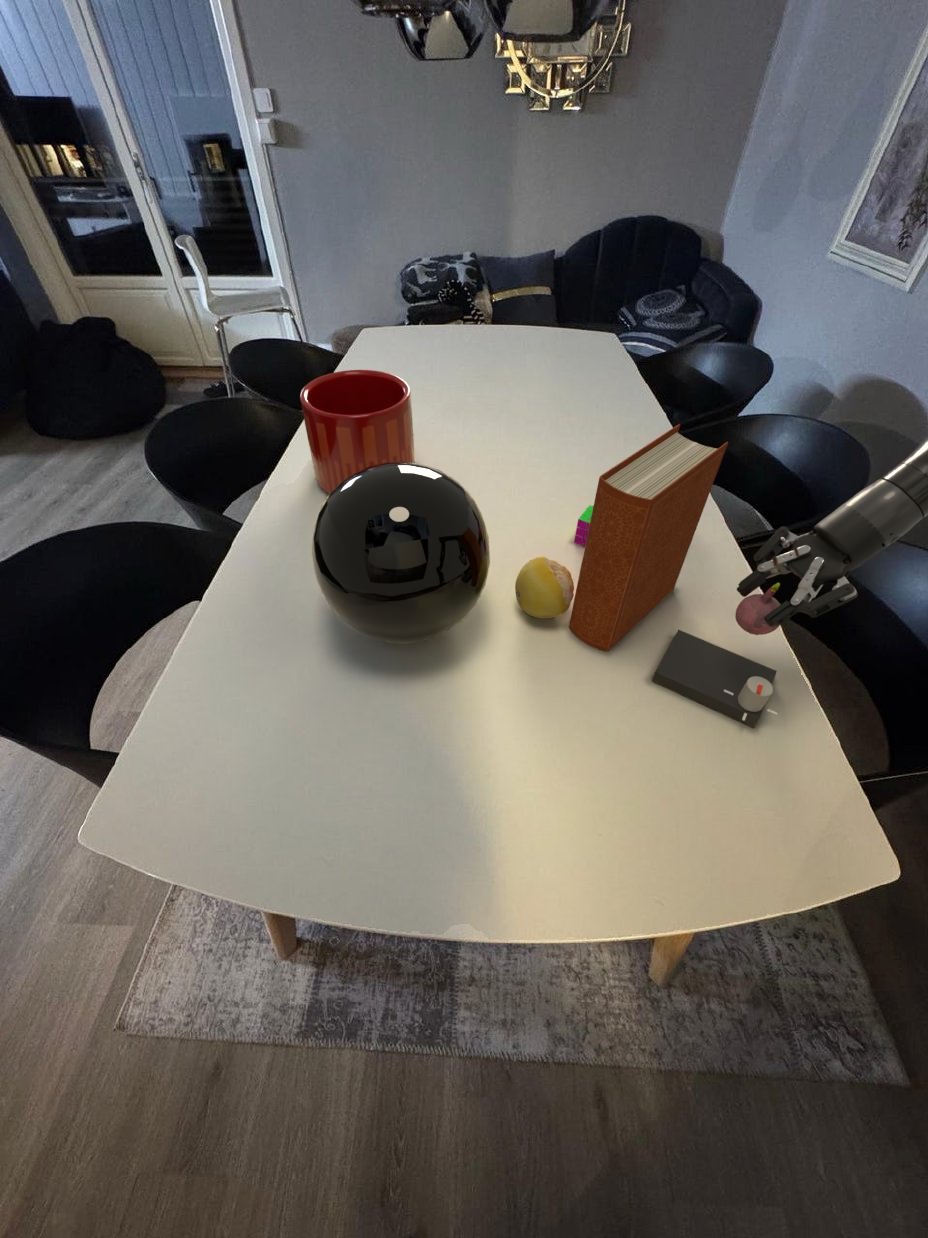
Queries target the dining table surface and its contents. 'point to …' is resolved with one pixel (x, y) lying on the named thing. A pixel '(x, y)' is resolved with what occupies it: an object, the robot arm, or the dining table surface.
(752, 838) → the dining table surface
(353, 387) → the planter
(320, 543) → the ball
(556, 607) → the fruit
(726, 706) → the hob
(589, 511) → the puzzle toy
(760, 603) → the vegetable
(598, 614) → the book
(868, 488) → the robot arm
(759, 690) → the burner knob
